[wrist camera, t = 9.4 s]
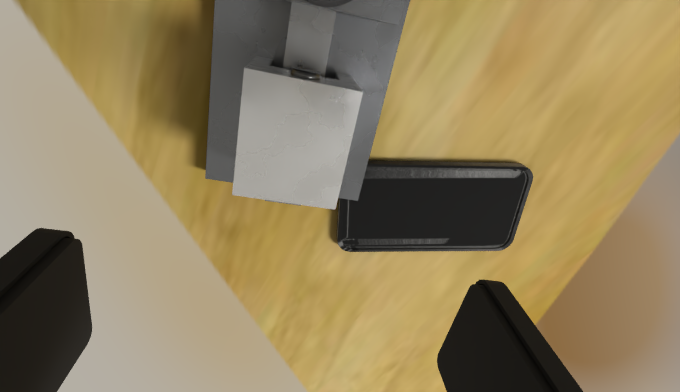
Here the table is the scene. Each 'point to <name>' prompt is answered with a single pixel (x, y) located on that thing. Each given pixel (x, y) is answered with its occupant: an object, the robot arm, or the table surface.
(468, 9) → the table surface
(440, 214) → the phone
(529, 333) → the robot arm
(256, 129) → the block
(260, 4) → the coupler
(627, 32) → the table surface
